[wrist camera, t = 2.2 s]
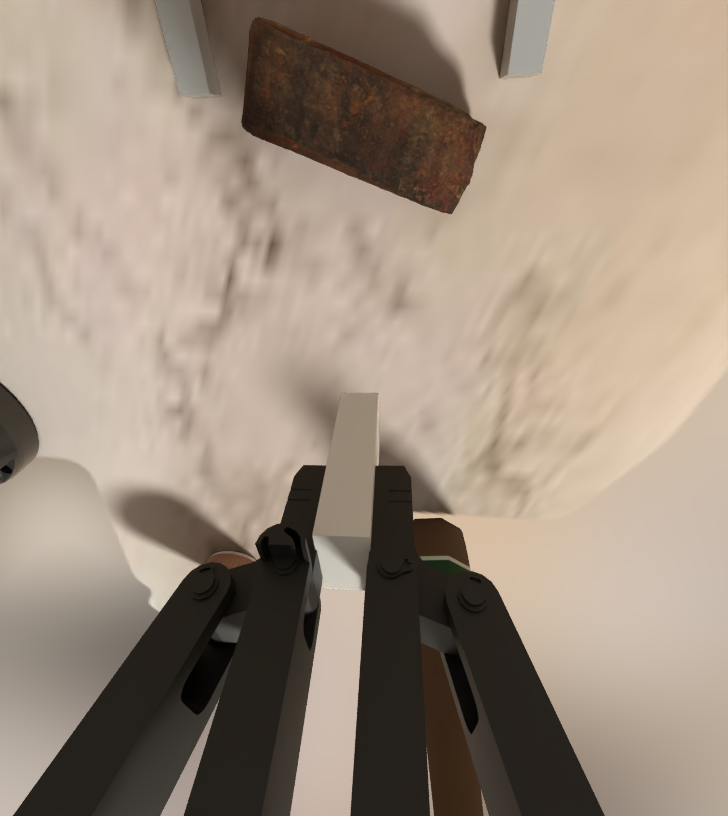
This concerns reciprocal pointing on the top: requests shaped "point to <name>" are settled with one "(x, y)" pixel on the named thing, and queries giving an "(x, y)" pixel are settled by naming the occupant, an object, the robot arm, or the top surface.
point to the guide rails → (199, 76)
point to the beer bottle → (445, 688)
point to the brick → (357, 118)
